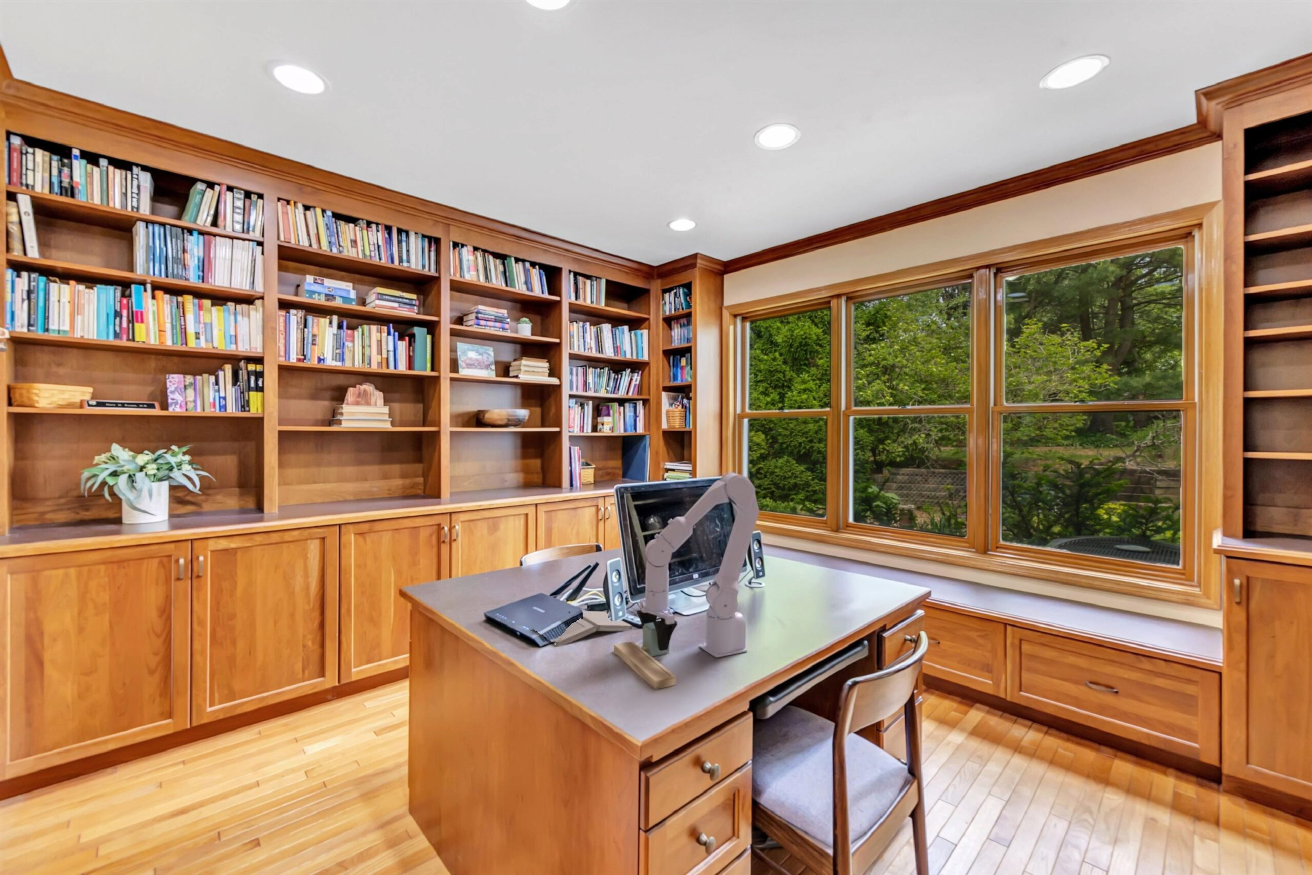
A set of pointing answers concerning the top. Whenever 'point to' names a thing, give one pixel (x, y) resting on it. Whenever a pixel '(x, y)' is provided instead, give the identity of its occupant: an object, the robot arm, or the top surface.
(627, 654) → the plank
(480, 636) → the top surface
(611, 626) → the gadget
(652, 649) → the green box with tab
